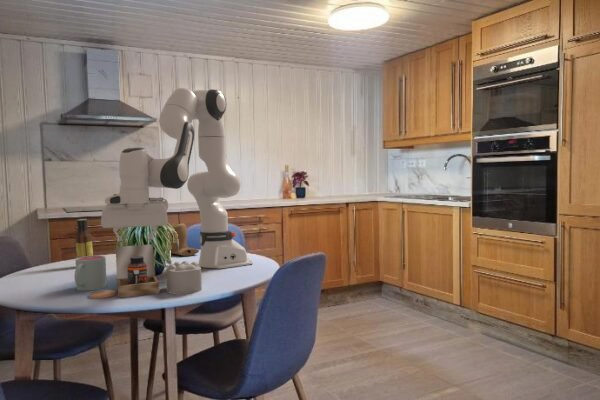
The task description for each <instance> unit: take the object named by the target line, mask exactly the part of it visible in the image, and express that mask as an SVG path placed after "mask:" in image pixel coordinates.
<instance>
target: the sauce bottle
mask: <svg viewBox="0 0 600 400" xmlns="http://www.w3.org/2000/svg"><path fill="white" fill-rule="evenodd" d="M76 224H77V232H76V233H75V236H74V237H75V252H76V258H80V257H85V256H94V254H93V253H94V250H93V241H92V234H91V232H90V231H89V229H88V219H87V218H82V219H81V218H79V219H76Z"/></svg>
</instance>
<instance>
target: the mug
mask: <svg viewBox="0 0 600 400" xmlns="http://www.w3.org/2000/svg"><path fill="white" fill-rule="evenodd" d="M106 261H107V259H106V256H104V255H93V256H85V257H80V258H77V257H76V258H75V270H74V282H75V284H76V290H77V291H85V292H87V291H95V290H96V291H98V290H100V289H101V290H102V289H104V288H106V287H107V267H106V265H107V263H106Z"/></svg>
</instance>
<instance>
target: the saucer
mask: <svg viewBox="0 0 600 400" xmlns="http://www.w3.org/2000/svg"><path fill="white" fill-rule="evenodd" d="M116 295H117V291H116V290H113V289H103V290H102V289H101V290H96V291H95V290H94V291H92V292H90V293H89V298H90V299H95V300H97V299H98V300H100V299H107V298H112V297H114V296H116Z"/></svg>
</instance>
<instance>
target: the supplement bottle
mask: <svg viewBox="0 0 600 400" xmlns="http://www.w3.org/2000/svg"><path fill="white" fill-rule="evenodd" d="M143 260H144V258H143V256H133V257H131V258H130V261H131V262H130V264H129V265H128V285H131V284H141V283H147V264H146V263H145V262H144V261H143Z"/></svg>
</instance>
